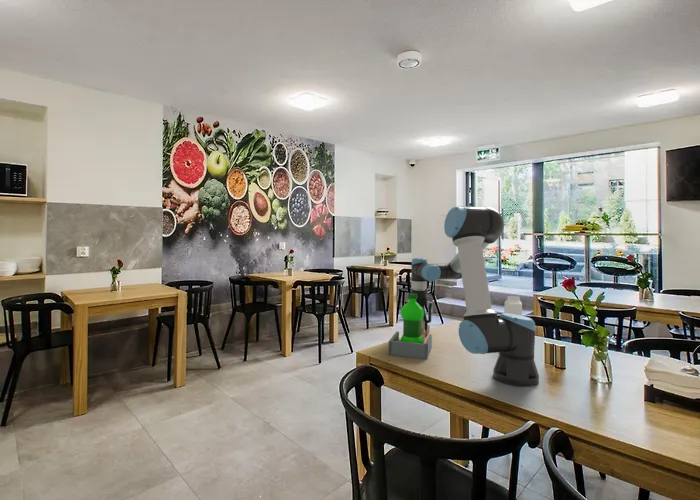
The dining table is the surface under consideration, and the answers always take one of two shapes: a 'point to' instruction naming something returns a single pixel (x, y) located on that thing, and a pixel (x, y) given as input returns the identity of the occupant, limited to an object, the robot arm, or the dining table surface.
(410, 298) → the plastic bottle
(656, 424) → the dining table surface
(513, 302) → the milk
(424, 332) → the scraper
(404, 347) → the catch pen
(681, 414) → the dining table surface
